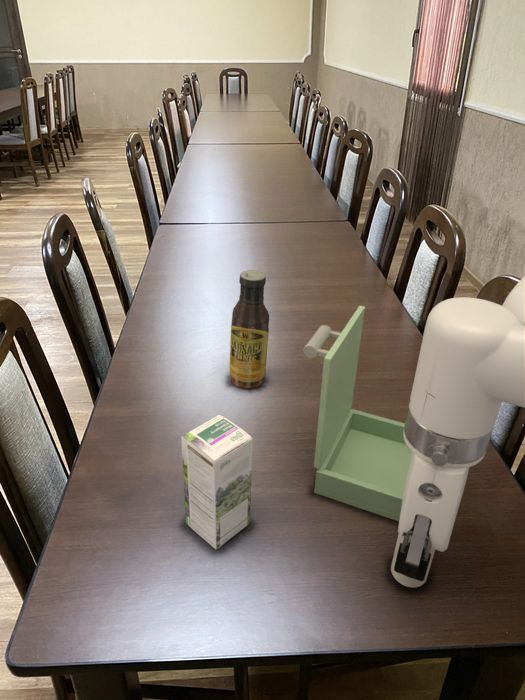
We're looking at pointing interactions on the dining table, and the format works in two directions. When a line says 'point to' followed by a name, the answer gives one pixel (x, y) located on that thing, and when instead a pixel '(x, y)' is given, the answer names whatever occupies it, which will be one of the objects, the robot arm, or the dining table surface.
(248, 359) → the sauce bottle
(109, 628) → the dining table surface
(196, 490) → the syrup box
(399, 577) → the cylinder
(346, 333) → the green box lid
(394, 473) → the green open lid box
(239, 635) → the dining table surface
